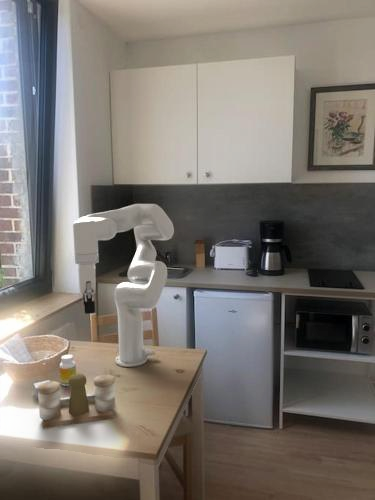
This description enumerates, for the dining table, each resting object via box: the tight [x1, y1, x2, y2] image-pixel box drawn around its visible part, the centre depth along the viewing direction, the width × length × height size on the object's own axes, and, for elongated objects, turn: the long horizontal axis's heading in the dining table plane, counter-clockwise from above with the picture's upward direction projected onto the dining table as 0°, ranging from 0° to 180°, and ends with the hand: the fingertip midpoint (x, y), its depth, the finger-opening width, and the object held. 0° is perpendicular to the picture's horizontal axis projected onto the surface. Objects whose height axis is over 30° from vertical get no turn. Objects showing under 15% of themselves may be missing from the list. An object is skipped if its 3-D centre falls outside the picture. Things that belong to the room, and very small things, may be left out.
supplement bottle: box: [59, 354, 77, 387], centre depth 150 cm, size 5×5×10 cm
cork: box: [68, 373, 89, 415], centre depth 128 cm, size 6×6×11 cm
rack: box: [38, 374, 116, 429], centre depth 129 cm, size 22×10×10 cm, turn 105°
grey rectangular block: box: [33, 379, 50, 400], centre depth 142 cm, size 5×4×4 cm
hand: (89, 308), depth 142 cm, fingers open, 9 cm apart
